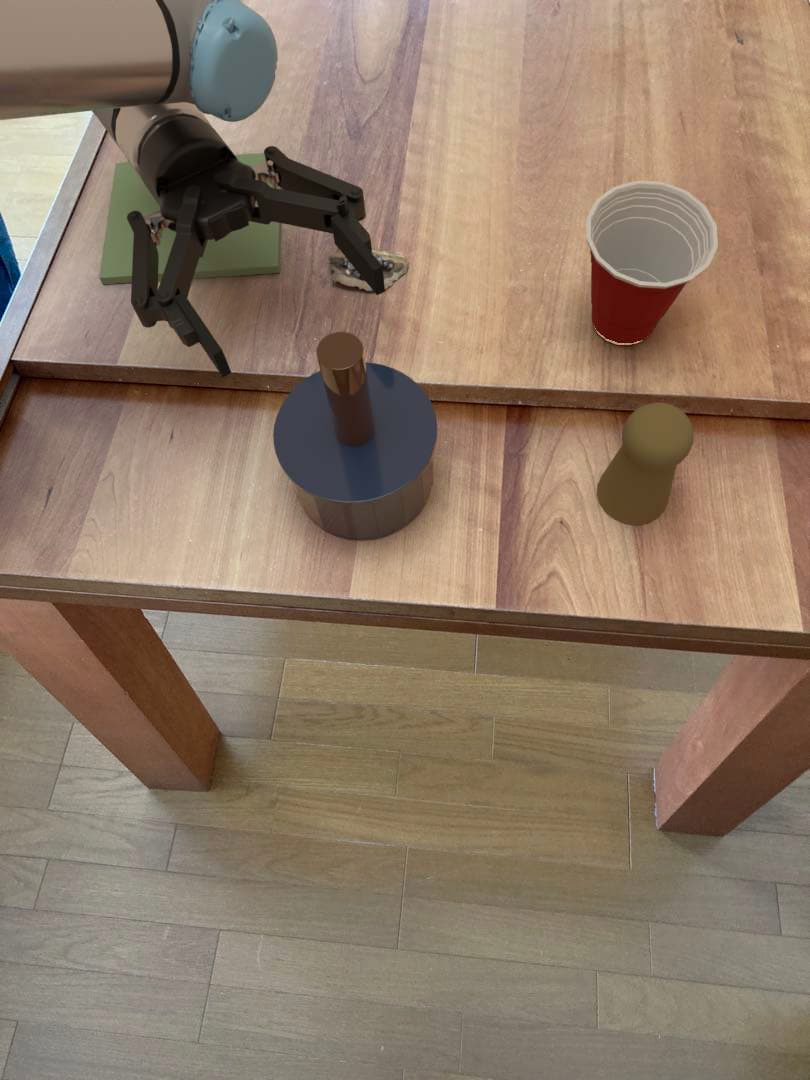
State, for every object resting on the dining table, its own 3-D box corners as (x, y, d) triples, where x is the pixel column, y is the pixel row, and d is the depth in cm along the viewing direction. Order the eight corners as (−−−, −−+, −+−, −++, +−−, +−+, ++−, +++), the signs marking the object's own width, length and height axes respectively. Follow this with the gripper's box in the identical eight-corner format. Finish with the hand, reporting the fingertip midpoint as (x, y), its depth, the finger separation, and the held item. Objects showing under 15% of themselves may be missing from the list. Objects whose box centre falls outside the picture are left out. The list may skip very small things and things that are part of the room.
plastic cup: (609, 389, 75) (637, 300, 64) (544, 308, 79) (559, 212, 68) (706, 339, 76) (749, 244, 65) (637, 263, 80) (667, 161, 70)
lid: (273, 514, 63) (240, 438, 53) (277, 375, 69) (248, 281, 58) (442, 504, 63) (441, 426, 53) (432, 365, 68) (430, 270, 58)
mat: (102, 284, 83) (98, 277, 82) (118, 170, 89) (115, 162, 88) (279, 273, 82) (277, 266, 81) (283, 159, 89) (281, 151, 88)
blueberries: (326, 246, 83) (324, 232, 82) (404, 237, 83) (403, 222, 82) (332, 298, 80) (329, 285, 79) (413, 288, 80) (412, 274, 79)
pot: (295, 544, 70) (279, 504, 63) (297, 424, 75) (282, 375, 68) (436, 536, 69) (435, 495, 62) (428, 416, 74) (426, 366, 67)
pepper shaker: (649, 454, 72) (682, 380, 62) (680, 512, 69) (719, 445, 59) (585, 474, 71) (608, 403, 61) (614, 534, 69) (642, 469, 59)
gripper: (313, 133, 75) (441, 282, 67) (62, 254, 70) (169, 429, 62) (299, 55, 68) (441, 210, 60) (20, 183, 63) (135, 369, 55)
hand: (303, 322), depth 61 cm, fingers open, 13 cm apart
